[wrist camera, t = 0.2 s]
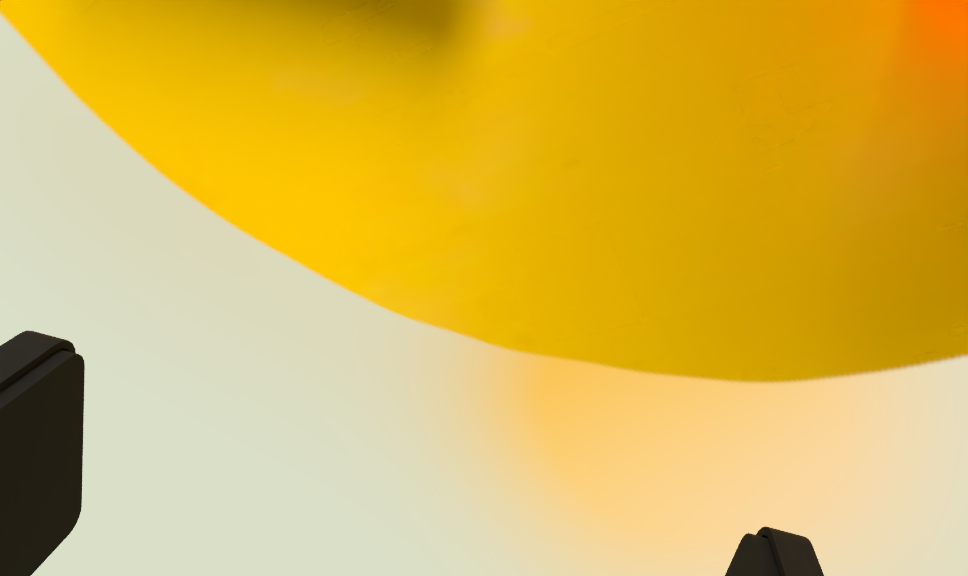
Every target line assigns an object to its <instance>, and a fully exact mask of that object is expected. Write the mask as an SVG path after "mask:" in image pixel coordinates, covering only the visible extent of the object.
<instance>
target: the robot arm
mask: <svg viewBox="0 0 968 576" xmlns="http://www.w3.org/2000/svg"><path fill="white" fill-rule="evenodd" d="M83 409H84V360H83V358H82V356H80V355H79V354H76V353H75V348H74V346H73V344H72V343H71V342H69V341H67V340H64V339H60V338H56V337H52V336H48V335H45V334H41V333H37V332H34V331H25V332H22V333H20V334H19V335H17V336H15V337H14V338H13V339H11V340H9V341H7V342H6V343H4V344H3V345H1V346H0V576H30V575H32V574H33V573H34V571H35V570H36V569H37V568H38V567H39V566H40V565H41V564H42V563H43V562H44V561H45V560H46V558H47V557H48V556H49V555H50V554H51V553H52V552H53V551H54V550H55V549H56V548H57V547H58V545H59V544H60V543H61V542H62V541H63V540H64V539H65V538H66V537H67V536H68V535H69V534H70V532H71V531H72V530H73V528H74V526H75V525H76V523H77V520H78V518H79V515H80V512H81V501H82V500H81V499H82V455H83ZM725 576H824V575H823V572H822V569H821V567H820V564H819V562H818V559H817V557H816V554H815V551H814V549H813V546H812V544H811V542H810V541H809V540H808V539H807V538H806V537H803V536H799V535H795V534H792V533H788V532H784V531H780V530H777V529H773V528H769V527H763V528H761V529H760V530H759V531H758V533H757V534H756V535H753V534H749V533H748V534H746V535H745V536H744V537H743V538H742V540H741V542H740V544H739V546H738V549H737V550H736V553H735V555H734V557H733V559H732V561H731V564H730V566H729V568H728V570H727V573H726V575H725Z"/></svg>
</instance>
